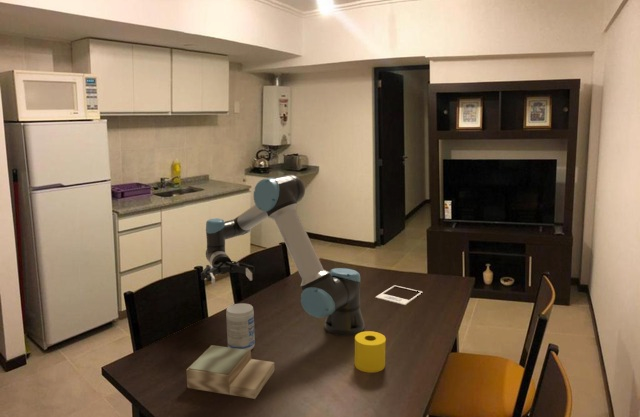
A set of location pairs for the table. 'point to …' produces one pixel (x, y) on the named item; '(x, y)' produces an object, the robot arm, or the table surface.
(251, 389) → the birch riser
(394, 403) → the table surface
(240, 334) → the supplement tub
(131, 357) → the table surface
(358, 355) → the yellow hollow cylinder
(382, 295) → the photo frame
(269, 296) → the table surface
